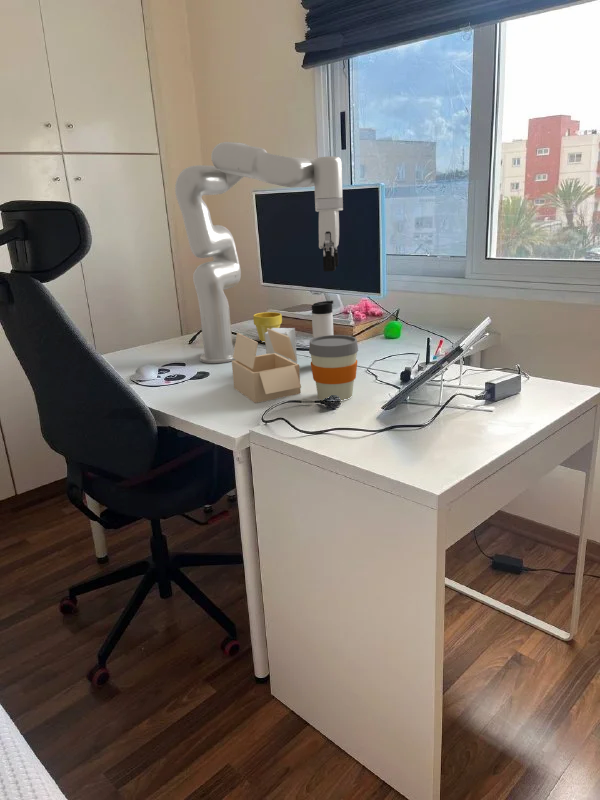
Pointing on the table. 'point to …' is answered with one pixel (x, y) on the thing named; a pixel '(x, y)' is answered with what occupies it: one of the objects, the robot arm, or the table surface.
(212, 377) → the table surface
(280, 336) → the flap
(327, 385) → the reusable coffee cup
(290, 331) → the supplement box
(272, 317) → the plant pot
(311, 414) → the table surface
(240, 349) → the flap
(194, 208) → the robot arm
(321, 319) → the travel mug
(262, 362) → the carton
